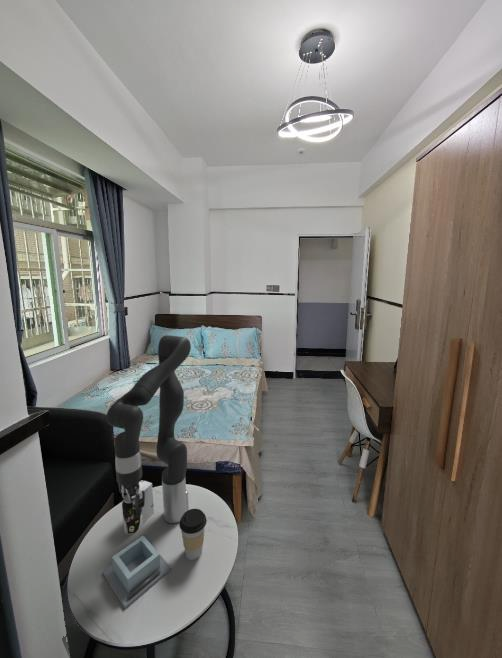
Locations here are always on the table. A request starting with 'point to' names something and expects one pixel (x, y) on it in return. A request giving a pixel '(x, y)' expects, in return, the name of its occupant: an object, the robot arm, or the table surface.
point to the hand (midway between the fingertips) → (132, 511)
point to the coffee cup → (193, 532)
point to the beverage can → (130, 517)
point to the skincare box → (147, 500)
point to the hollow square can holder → (135, 570)
